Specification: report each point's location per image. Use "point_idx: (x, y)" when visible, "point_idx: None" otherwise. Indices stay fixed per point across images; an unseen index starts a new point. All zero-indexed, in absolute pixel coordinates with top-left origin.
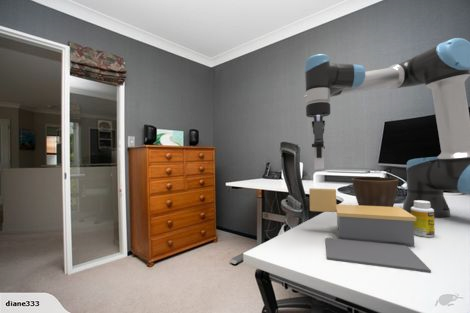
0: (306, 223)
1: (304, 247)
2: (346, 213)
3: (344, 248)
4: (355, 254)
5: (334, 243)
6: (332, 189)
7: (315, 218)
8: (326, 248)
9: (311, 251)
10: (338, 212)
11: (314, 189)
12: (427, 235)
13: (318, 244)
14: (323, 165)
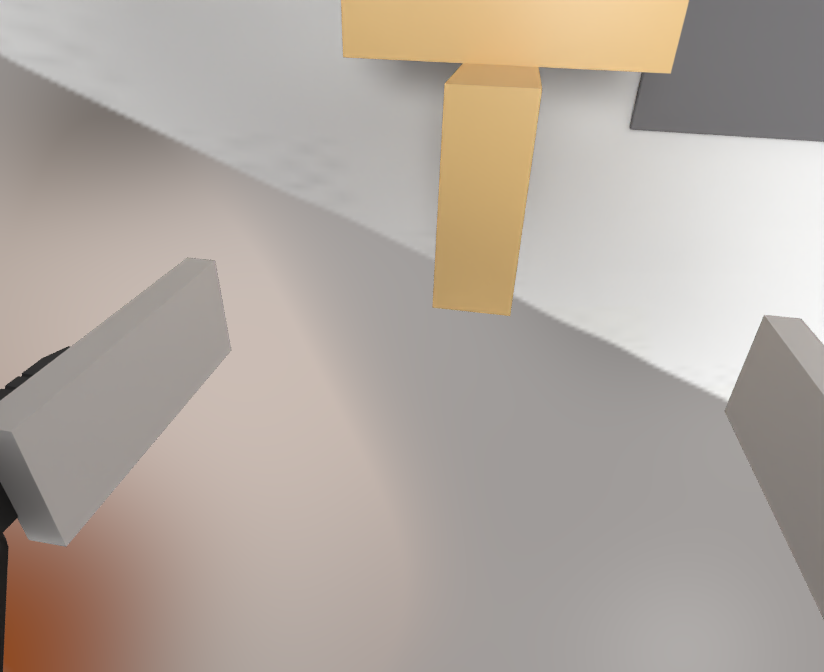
0: (352, 215)
1: (751, 237)
2: (687, 1)
3: (809, 40)
4: None
5: (726, 88)
6: (489, 118)
7: (225, 158)
8: (802, 139)
9: (806, 208)
10: (658, 65)
11: (505, 277)
12: None
13: (709, 170)
14: (822, 351)
